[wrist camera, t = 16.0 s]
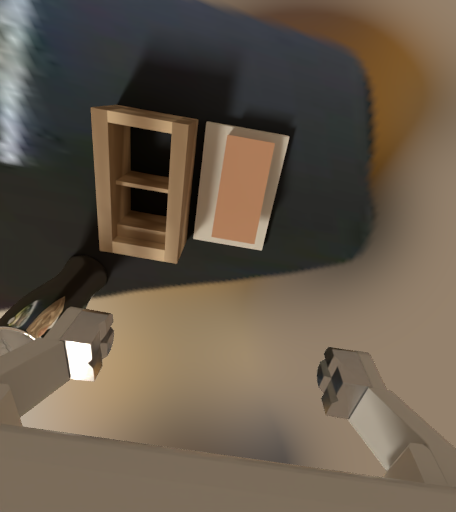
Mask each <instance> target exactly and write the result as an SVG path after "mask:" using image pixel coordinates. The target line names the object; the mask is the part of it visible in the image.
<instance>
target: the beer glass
mask: <svg viewBox="0 0 456 512" xmlns="http://www.w3.org/2000/svg"><path fill="white" fill-rule="evenodd" d="M106 282H107V273H106V270H105V269H104V267H103V266H102V265H101V264H100V263H99V262H98V261H97V260H95V259H94V258H91V257H89V256H84V255H78V256H74V257H72V258H70V259H69V260H68V261H67V263H66V264H65V266H64V268H63V269H62V271H61V272H60V273H59V274H58V275H57V276H55V277H54V278H52V279H51V280H49V281H47V282H46V283H44V284H42V285H41V286H39V287H37V288H36V289H34V290H33V291H31V292H30V293H28V294H27V295H25V296H24V297H23V298H22V299H20V300H19V301H18V302H17V303H16V304H14V305H13V306H12V307H11V308H10V309H9V310H8V311H7V312H6V313H5V314H4V315H3V316H2V318H1V319H0V356H2V355H4V354H6V353H8V352H10V351H12V350H14V349H16V348H18V347H20V346H22V345H24V344H27V343H29V342H31V341H33V340H35V339H37V338H44V336H45V335H46V334H47V333H48V331H49V330H50V329H51V328H52V327H53V325H54V324H55V323H56V322H57V320H58V319H59V318H60V317H61V315H62V314H63V313H64V312H65V311H66V309H67V308H69V307H76V308H81V309H86V307H87V305H88V303H89V301H90V299H91V298H92V296H93V295H94V294H95V293H97V292H98V291H99V290H100V289H102V288H103V287H104V285H105V284H106Z"/></svg>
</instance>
